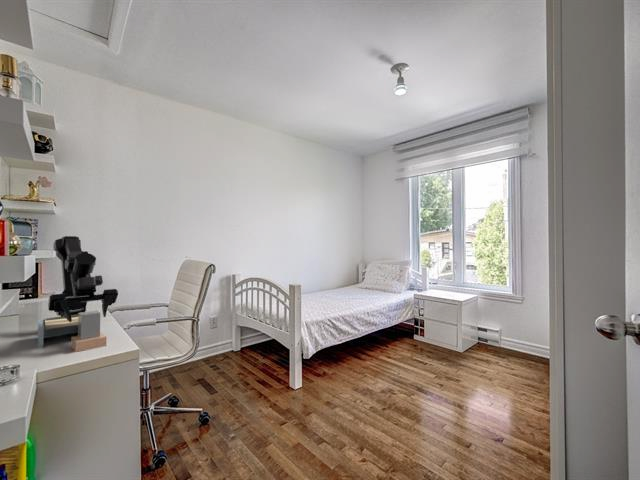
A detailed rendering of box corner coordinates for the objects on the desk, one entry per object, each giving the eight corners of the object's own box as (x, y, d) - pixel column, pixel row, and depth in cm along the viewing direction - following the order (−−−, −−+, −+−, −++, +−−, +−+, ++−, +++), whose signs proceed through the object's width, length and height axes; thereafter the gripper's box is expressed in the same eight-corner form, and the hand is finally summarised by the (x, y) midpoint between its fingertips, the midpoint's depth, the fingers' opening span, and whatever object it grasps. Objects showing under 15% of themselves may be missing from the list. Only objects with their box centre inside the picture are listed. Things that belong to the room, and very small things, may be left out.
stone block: (71, 346, 98) (71, 337, 98) (100, 340, 104) (100, 331, 104) (75, 351, 93) (75, 342, 93) (106, 345, 99) (106, 336, 99)
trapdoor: (43, 323, 107) (43, 318, 107) (87, 317, 116) (87, 313, 116) (44, 330, 99) (44, 325, 99) (91, 323, 107) (91, 318, 107)
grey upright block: (77, 337, 99) (78, 313, 99) (96, 333, 102) (96, 310, 102) (81, 340, 95) (81, 315, 95) (99, 336, 99) (100, 312, 99)
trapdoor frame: (37, 337, 107) (38, 319, 108) (90, 329, 118) (91, 313, 118) (38, 347, 97) (38, 327, 97) (96, 337, 107) (97, 319, 108)
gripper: (50, 270, 97) (54, 308, 89) (117, 267, 111) (125, 300, 103) (46, 291, 102) (50, 329, 94) (111, 286, 116) (118, 319, 108)
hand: (88, 318), depth 100 cm, fingers open, 9 cm apart
